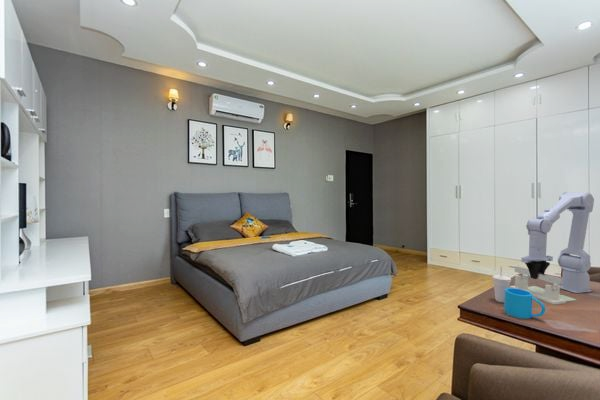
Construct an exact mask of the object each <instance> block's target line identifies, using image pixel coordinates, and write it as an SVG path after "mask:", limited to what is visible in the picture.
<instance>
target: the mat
mask: <svg viewBox="0 0 600 400" xmlns="http://www.w3.org/2000/svg"><path fill="white" fill-rule="evenodd" d="M528 288H530V289H533V290H536V291H539V292H542V293H544V294H545V288H542V287H539V286H537V285H532V286H528ZM559 299H562V300H565V301H566V303H568V302H575V301H576V302H577V301H578V299H576V298H572V297H571V296H567V295H565V294H561V293H560V295H559Z"/></svg>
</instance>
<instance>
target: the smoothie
mask: <svg viewBox="0 0 600 400" xmlns="http://www.w3.org/2000/svg"><path fill="white" fill-rule="evenodd" d="M499 267H500V268H499V270H500V273H499V274H500V275H499V274H498V275H496V274H495V275H492V280H493V288H494V289H493V290H494V297H495V301H496V302H499V303H504V302H505V289H507V288H510V286H511V285H510V284H511V282H512V278H511V277H509V276H505V275H503V266H499Z"/></svg>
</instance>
